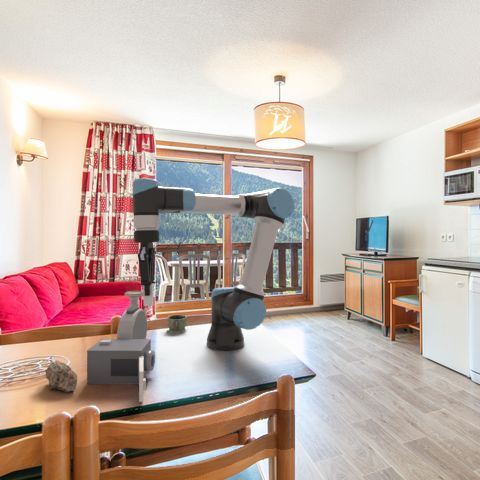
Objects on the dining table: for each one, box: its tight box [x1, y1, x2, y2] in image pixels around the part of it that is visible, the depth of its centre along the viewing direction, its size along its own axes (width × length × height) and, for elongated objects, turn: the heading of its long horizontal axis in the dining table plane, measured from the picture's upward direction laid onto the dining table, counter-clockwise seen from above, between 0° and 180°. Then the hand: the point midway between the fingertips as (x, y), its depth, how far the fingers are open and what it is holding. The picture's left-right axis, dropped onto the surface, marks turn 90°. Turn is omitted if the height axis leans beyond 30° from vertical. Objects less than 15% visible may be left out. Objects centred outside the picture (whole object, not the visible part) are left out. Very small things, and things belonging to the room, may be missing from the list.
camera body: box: [86, 338, 156, 385], centre depth 96 cm, size 18×10×11 cm, turn 91°
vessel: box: [166, 314, 188, 334], centre depth 144 cm, size 12×9×6 cm
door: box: [138, 356, 147, 403], centre depth 86 cm, size 11×2×8 cm, turn 18°
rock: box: [45, 360, 78, 393], centre depth 90 cm, size 7×11×10 cm
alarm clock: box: [116, 306, 148, 339], centre depth 111 cm, size 16×10×18 cm, turn 178°
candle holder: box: [124, 290, 143, 307], centre depth 128 cm, size 9×9×20 cm
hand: (148, 305), depth 96 cm, fingers closed
